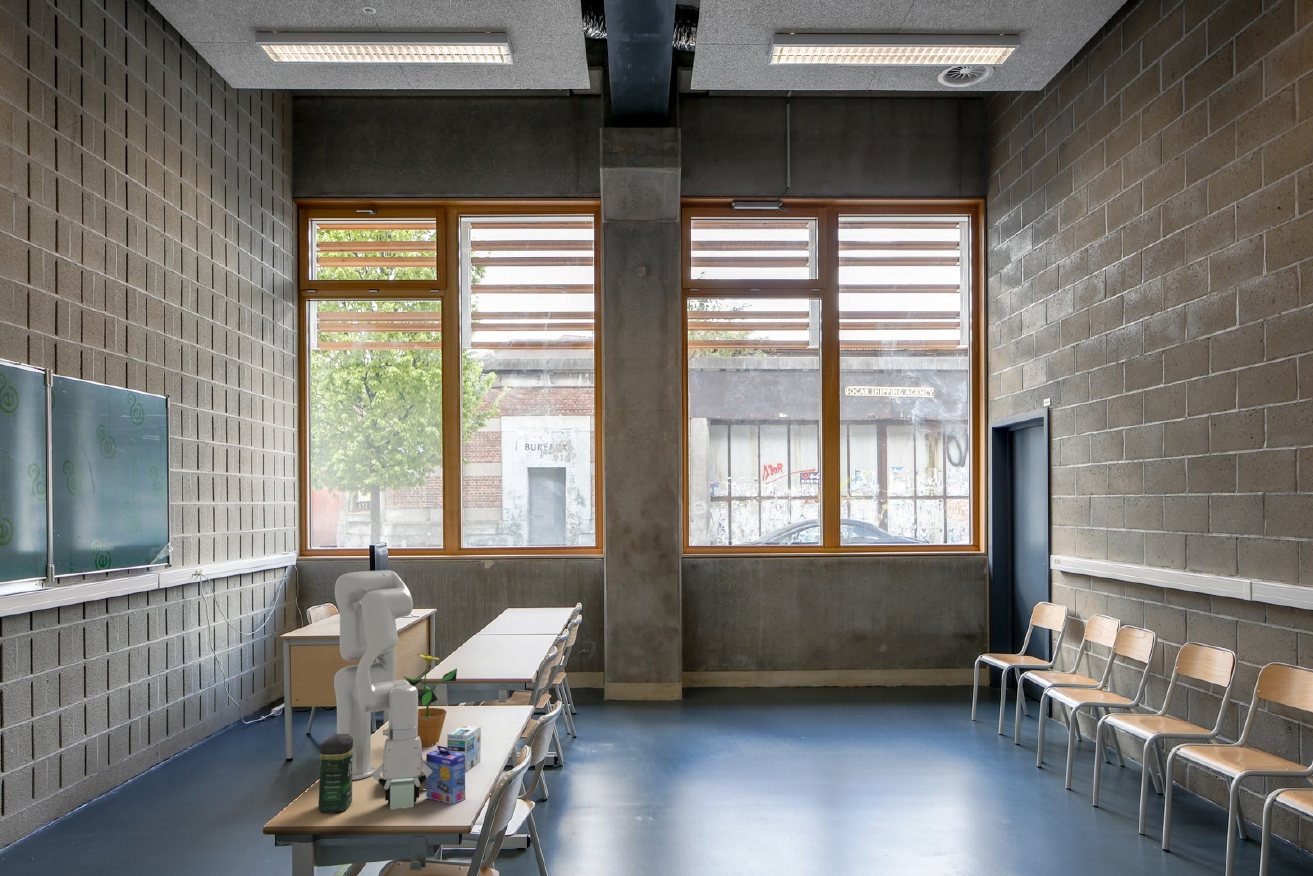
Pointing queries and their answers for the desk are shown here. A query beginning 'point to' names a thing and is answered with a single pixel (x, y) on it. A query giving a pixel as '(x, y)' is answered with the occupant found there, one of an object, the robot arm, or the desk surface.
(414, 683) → the potted plant
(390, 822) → the desk surface
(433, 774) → the ink cartridge box
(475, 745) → the light bulb box
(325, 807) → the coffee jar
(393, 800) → the sage block
